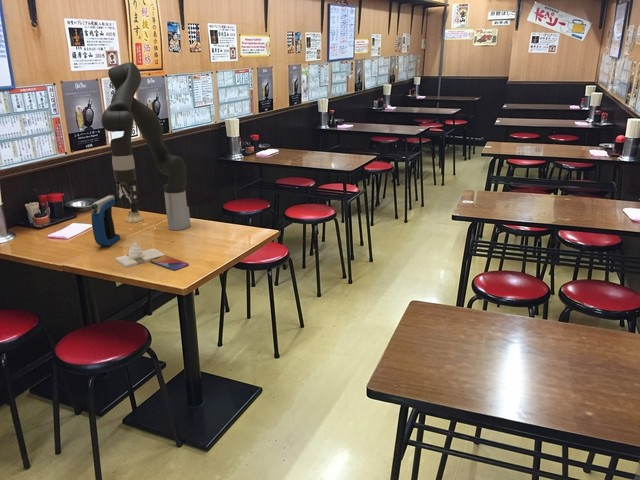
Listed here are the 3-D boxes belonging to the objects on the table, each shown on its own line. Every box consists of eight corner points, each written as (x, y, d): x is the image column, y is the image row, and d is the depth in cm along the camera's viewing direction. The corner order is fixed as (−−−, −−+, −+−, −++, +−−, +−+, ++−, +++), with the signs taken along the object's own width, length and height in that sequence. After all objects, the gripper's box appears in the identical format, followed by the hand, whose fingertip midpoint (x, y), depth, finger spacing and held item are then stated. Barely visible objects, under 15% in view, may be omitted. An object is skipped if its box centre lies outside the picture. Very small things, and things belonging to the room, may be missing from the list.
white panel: (154, 250, 210) (153, 248, 210) (165, 257, 203) (165, 254, 203) (115, 260, 200) (114, 257, 199) (126, 267, 193) (125, 265, 192)
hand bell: (140, 216, 255) (137, 185, 250) (145, 221, 249) (141, 188, 243) (123, 219, 251) (119, 187, 246) (127, 224, 244) (123, 191, 239)
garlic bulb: (144, 241, 200) (135, 245, 195) (146, 255, 202) (137, 260, 197) (133, 239, 201) (123, 244, 197) (135, 254, 203) (125, 258, 199)
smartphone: (174, 272, 190) (174, 270, 189) (149, 263, 198) (148, 260, 198) (190, 266, 195) (190, 264, 195) (165, 257, 204) (164, 254, 203)
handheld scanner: (124, 237, 226) (117, 193, 219) (106, 250, 210) (98, 203, 204) (114, 237, 226) (106, 193, 220) (95, 250, 211) (87, 203, 204)
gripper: (142, 168, 186) (147, 211, 191) (125, 163, 196) (131, 204, 201) (122, 171, 181) (128, 216, 186) (106, 165, 191) (112, 208, 196)
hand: (129, 210), depth 194 cm, fingers open, 8 cm apart
